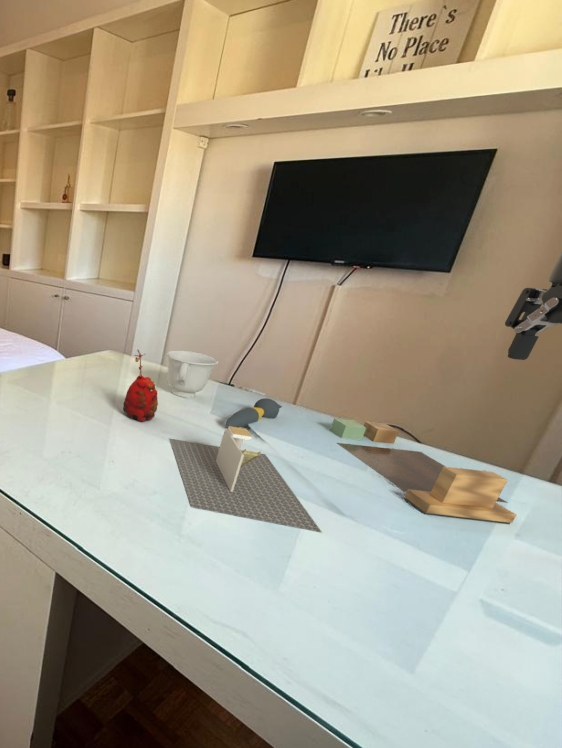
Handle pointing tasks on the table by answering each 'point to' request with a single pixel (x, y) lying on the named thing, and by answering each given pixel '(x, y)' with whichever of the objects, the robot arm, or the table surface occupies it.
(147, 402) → the red clay folk toy
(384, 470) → the brown flat mat
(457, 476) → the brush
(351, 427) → the sage cube
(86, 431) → the table surface
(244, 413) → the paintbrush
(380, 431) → the wooden cube
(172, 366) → the teacup
